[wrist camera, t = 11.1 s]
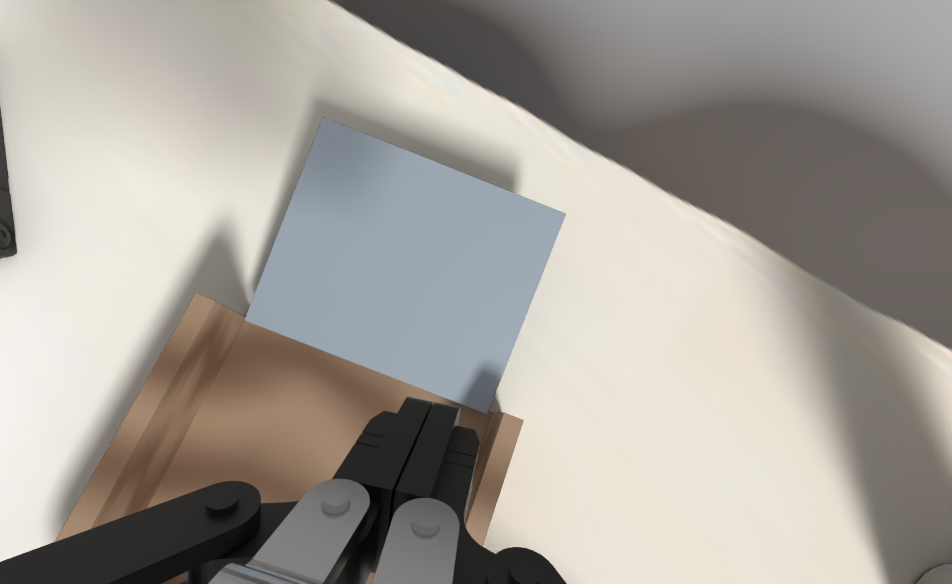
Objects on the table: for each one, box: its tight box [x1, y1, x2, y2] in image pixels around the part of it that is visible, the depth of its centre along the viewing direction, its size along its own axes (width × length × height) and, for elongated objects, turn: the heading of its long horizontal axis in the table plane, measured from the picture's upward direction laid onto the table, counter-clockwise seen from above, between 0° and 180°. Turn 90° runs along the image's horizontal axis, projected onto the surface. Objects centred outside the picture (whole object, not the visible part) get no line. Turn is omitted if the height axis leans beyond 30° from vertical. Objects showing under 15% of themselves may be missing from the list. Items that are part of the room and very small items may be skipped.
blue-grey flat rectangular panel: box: [245, 117, 566, 414], centre depth 31 cm, size 2×17×14 cm
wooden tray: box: [55, 294, 524, 584], centre depth 27 cm, size 20×20×6 cm
